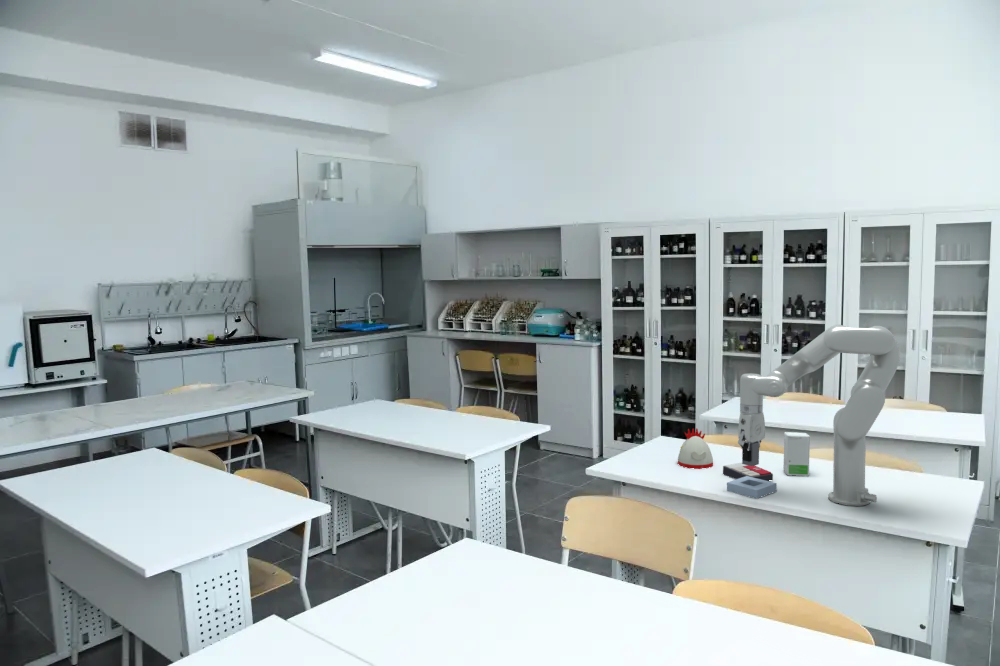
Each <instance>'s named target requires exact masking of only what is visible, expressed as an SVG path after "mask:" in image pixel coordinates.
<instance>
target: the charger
mask: <svg viewBox="0 0 1000 666" xmlns="http://www.w3.org/2000/svg"><path fill="white" fill-rule="evenodd" d="M745 444H746V445H747V444H748V443H745ZM750 450H751V462H748V461H744V460H741V463H742V464H745V465H749V466H758V465H759V464H760V448H759V442H753V443H751V447H750Z"/></svg>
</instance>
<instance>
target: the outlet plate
mask: <svg viewBox="0 0 1000 666" xmlns="http://www.w3.org/2000/svg"><path fill="white" fill-rule="evenodd" d="M777 487H778V486H777V483H776V482H773V481H765V480H761V479H757V478H753V477H749V476H745V477H742V478H739V479H733V480H730V481H727V482H726V491H727V492H730V493H734V494H738V495H741V496H744V497H745V496H746V497H748V496H750V498H752V497H754V498H753V499H756V498H758V499H760V498H762V497H761V496H763V497H765V496H764V495H766V494H769V493H771V494H773V493H772V492H774V493H776V492H775V491H777ZM769 495H770V494H769ZM766 496H767V495H766ZM759 497H760V498H759Z"/></svg>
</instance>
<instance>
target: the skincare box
mask: <svg viewBox="0 0 1000 666" xmlns="http://www.w3.org/2000/svg"><path fill="white" fill-rule="evenodd" d="M783 437H784V438H783V469H782V471H783V472H784V473H785V475H787V476H792V475H796V477H799V476H800V477H809V476H810V453H811V452H810V446H811V443H810V441H811V436H810V435H809V434H808V433H806V432H796V431H795V432H790V431H789V432H788V431H785V432H783Z"/></svg>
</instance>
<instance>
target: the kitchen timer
mask: <svg viewBox="0 0 1000 666" xmlns="http://www.w3.org/2000/svg"><path fill="white" fill-rule="evenodd" d="M698 430H699V429H698V428H696V429H695V428H692V430H690V429H689V428H688V429H687V433H686V432H684V435H685V437H686V440H684V441H683V444H682V445H681V446H680V450H679V453H678V457H677V465H678V464H679V465H680V467H681V466H683V468H685V467H687V468H686V469H690V468H694V469H693V470H703V469H702V468H706V469H710V468H712V467H713V466H714V459H713V454H712V451H711V449H710V447H709V445H708V443H707V442H706V441H705V440H704V438H705V436H706V433H703V434H702V432H703V431H702V430H700V431H698ZM679 465H678V466H679ZM709 467H710V468H709Z"/></svg>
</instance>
